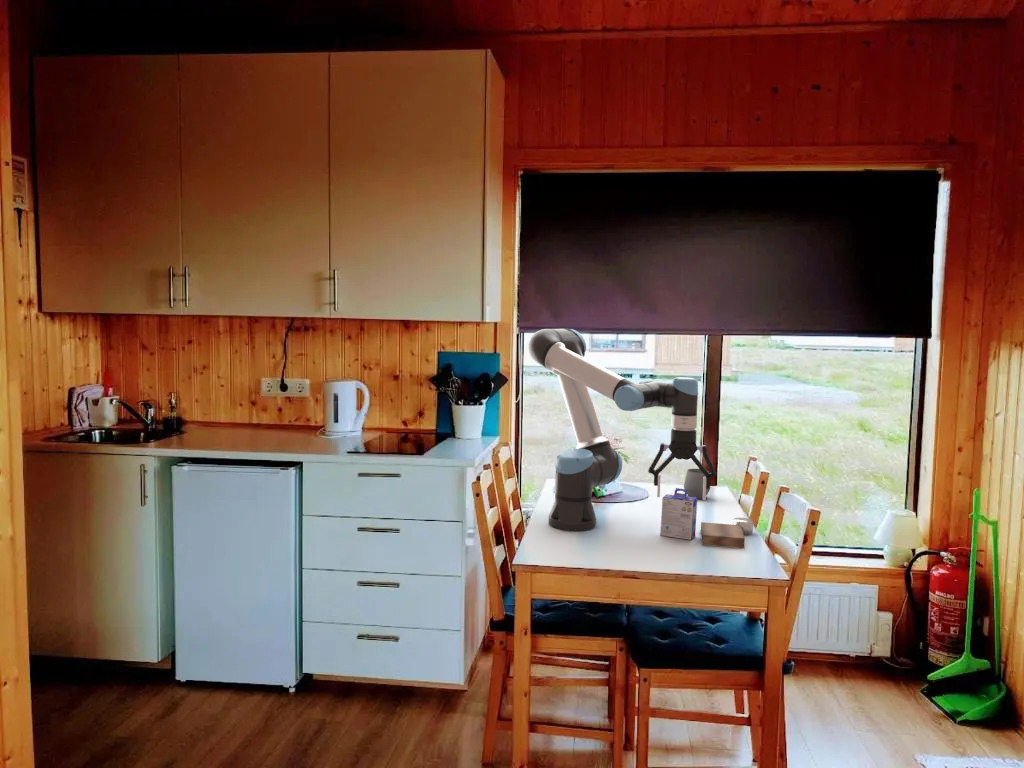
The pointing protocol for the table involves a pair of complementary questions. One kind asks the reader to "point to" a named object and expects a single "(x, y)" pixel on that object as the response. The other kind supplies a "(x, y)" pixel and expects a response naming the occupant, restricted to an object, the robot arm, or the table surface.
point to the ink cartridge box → (679, 515)
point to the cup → (695, 483)
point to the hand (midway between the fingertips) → (681, 497)
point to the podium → (722, 535)
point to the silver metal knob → (744, 525)
